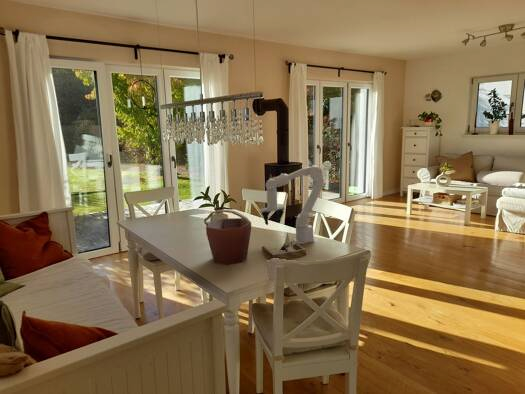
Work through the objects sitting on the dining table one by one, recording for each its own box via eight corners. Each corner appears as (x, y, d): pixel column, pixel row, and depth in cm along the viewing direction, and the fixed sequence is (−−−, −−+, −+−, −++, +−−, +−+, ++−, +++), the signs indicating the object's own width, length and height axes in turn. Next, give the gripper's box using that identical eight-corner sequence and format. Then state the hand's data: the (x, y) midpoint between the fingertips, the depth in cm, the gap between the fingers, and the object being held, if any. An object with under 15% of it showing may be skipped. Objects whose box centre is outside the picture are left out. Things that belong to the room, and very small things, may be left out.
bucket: (197, 261, 188) (193, 213, 183) (225, 248, 206) (222, 204, 201) (236, 270, 174) (233, 218, 169) (262, 255, 192) (260, 208, 187)
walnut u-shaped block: (292, 246, 204) (292, 241, 204) (305, 254, 191) (305, 249, 190) (262, 251, 198) (261, 246, 197) (273, 260, 184) (273, 255, 183)
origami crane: (273, 240, 197) (283, 230, 191) (290, 245, 202) (300, 235, 195) (275, 258, 190) (285, 248, 184) (292, 262, 195) (303, 253, 188)
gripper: (280, 197, 217) (281, 220, 219) (257, 200, 211) (258, 223, 214) (285, 199, 210) (286, 223, 213) (262, 202, 205) (263, 226, 208)
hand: (272, 223), depth 213 cm, fingers open, 7 cm apart
